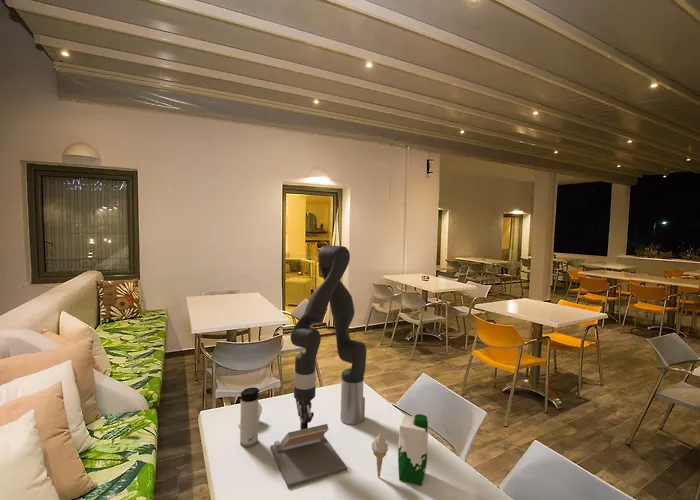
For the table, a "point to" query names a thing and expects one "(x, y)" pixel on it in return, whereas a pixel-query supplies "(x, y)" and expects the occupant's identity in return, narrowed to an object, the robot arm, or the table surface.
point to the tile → (304, 435)
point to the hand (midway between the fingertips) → (304, 431)
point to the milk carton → (413, 448)
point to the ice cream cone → (379, 450)
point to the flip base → (307, 461)
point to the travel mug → (249, 417)
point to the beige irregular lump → (258, 413)
